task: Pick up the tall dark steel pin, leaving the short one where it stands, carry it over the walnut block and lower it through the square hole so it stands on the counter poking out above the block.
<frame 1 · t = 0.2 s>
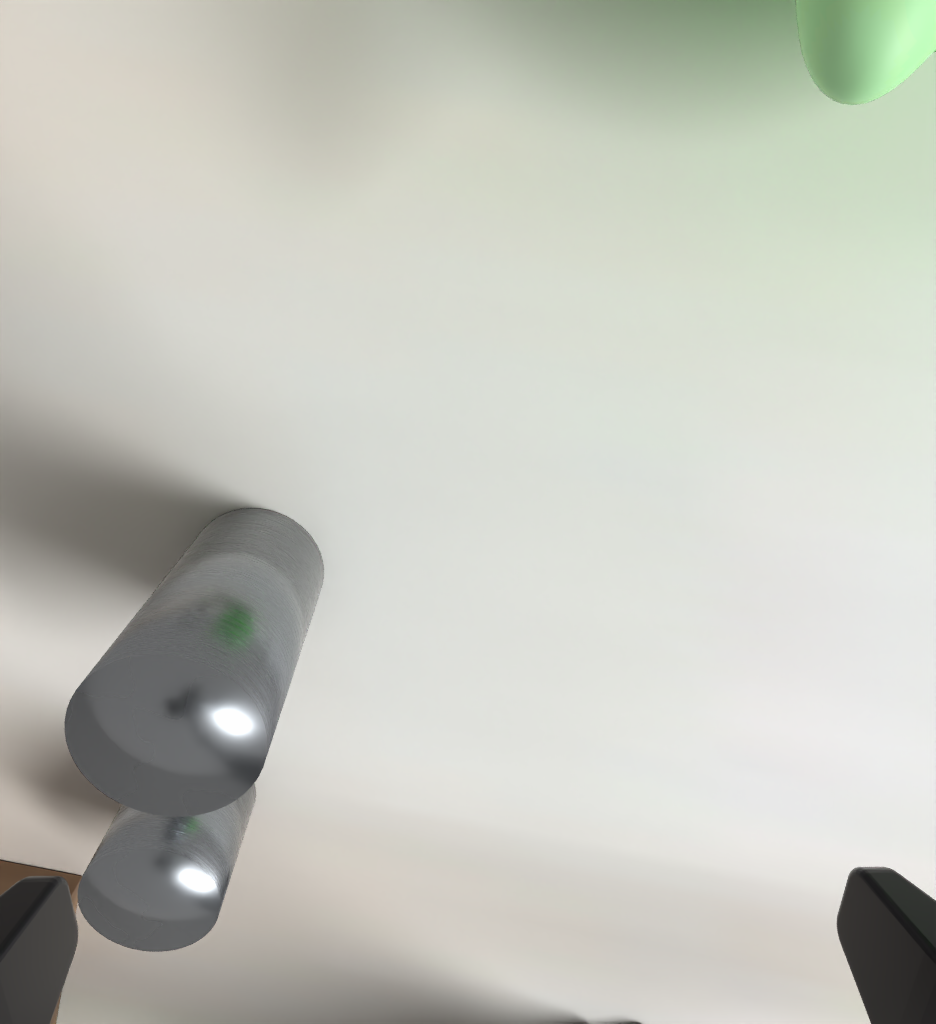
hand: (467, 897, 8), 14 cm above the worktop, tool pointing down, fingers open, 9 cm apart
short pin: (197, 790, 25), on the worktop
tall pin: (258, 569, 22), on the worktop
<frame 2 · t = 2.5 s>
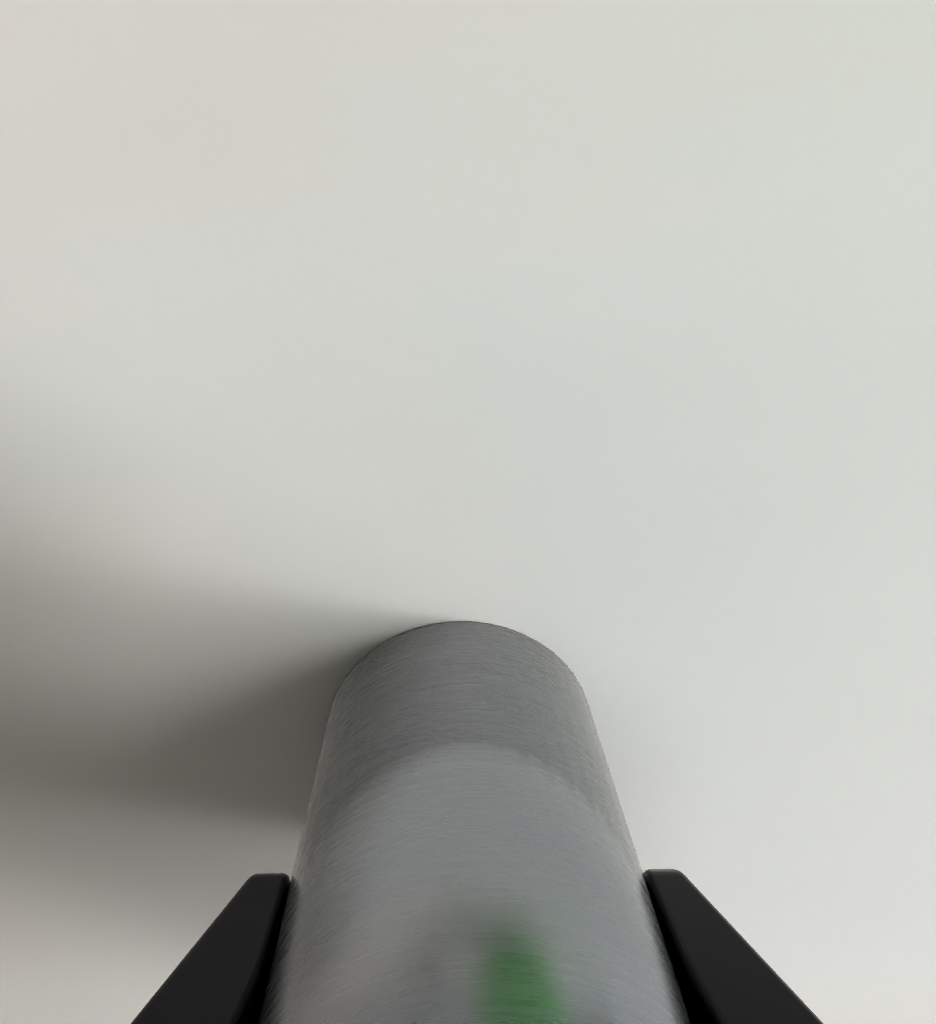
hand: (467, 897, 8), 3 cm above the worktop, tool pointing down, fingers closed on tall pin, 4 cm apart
tall pin: (460, 737, 11), on the worktop, touching gripper
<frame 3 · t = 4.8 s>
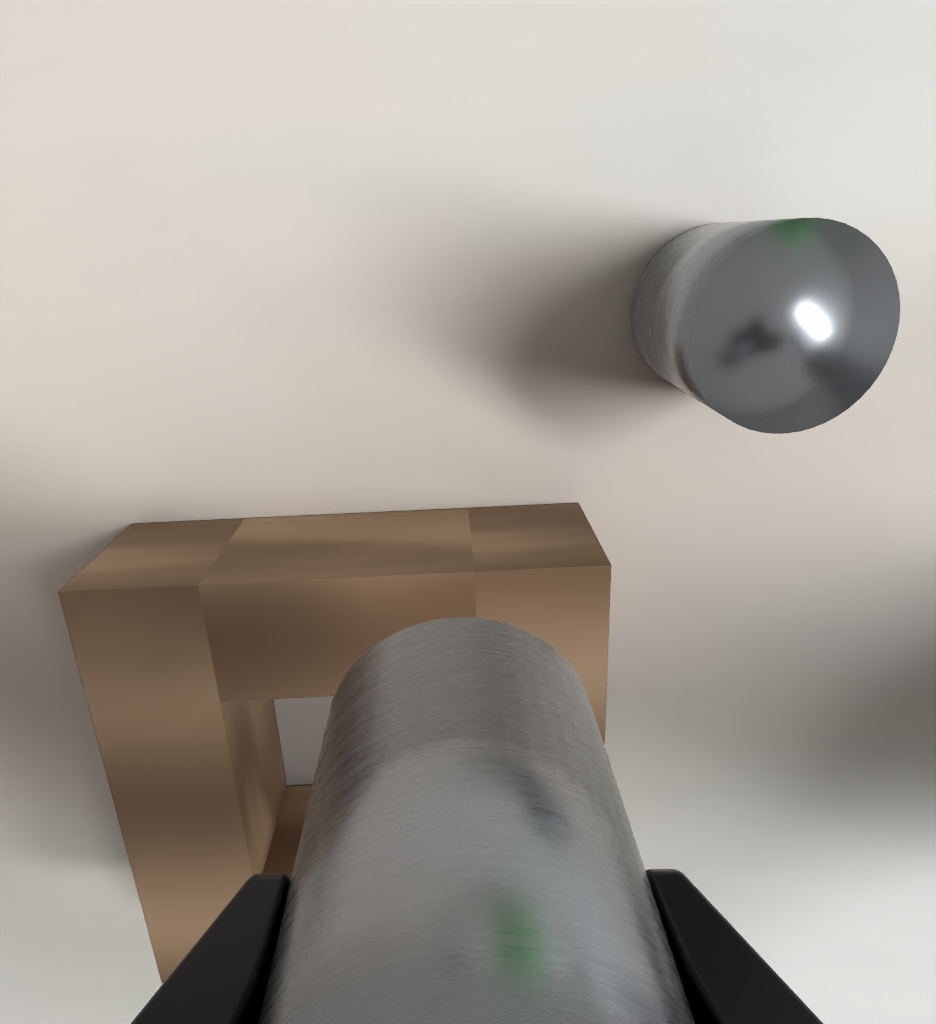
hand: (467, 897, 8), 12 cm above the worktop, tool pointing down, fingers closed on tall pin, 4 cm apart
hole block: (375, 700, 22), on the worktop
short pin: (711, 309, 18), on the worktop
tall pin: (461, 734, 11), point 9 cm above the worktop, touching gripper
when the fingers open (5 cm above the worktop, at t = 7.3 s): tall pin drops 2 cm, resting in hole block.
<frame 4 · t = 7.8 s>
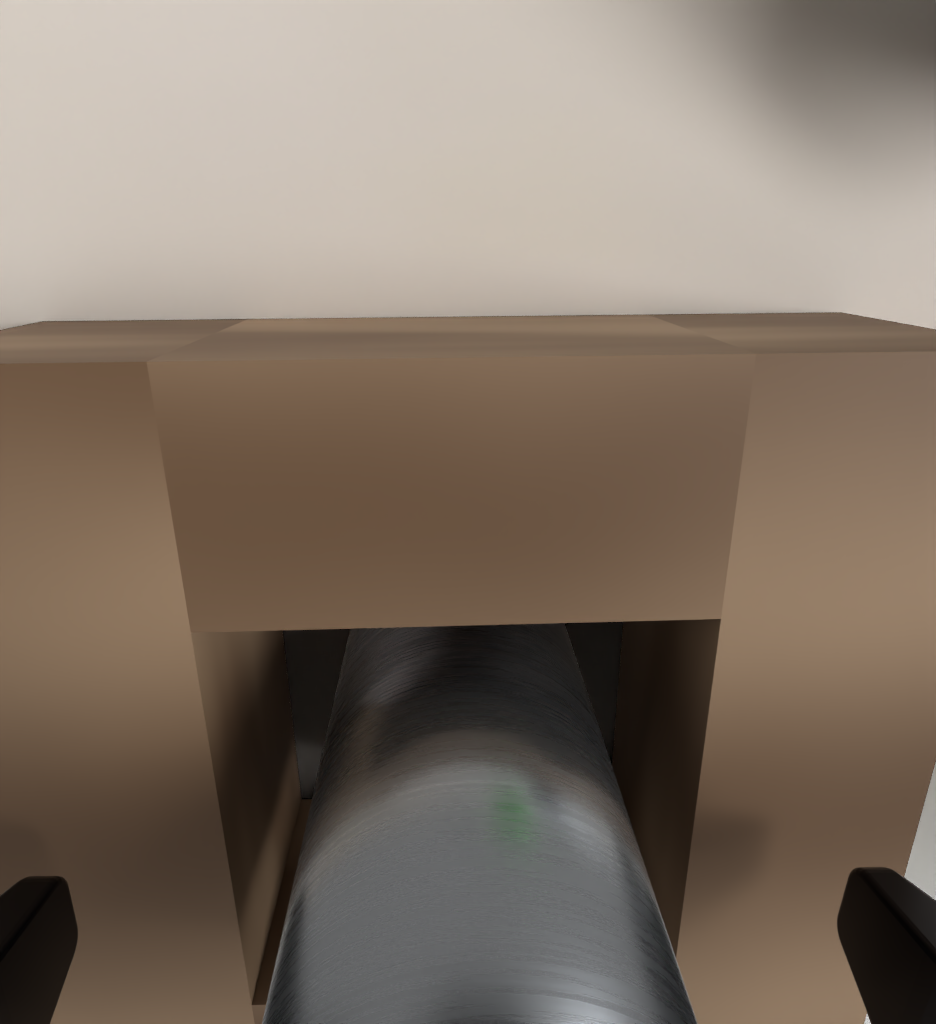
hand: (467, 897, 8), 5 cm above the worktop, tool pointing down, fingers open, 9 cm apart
hole block: (454, 661, 13), on the worktop
tall pin: (458, 657, 13), resting in hole block
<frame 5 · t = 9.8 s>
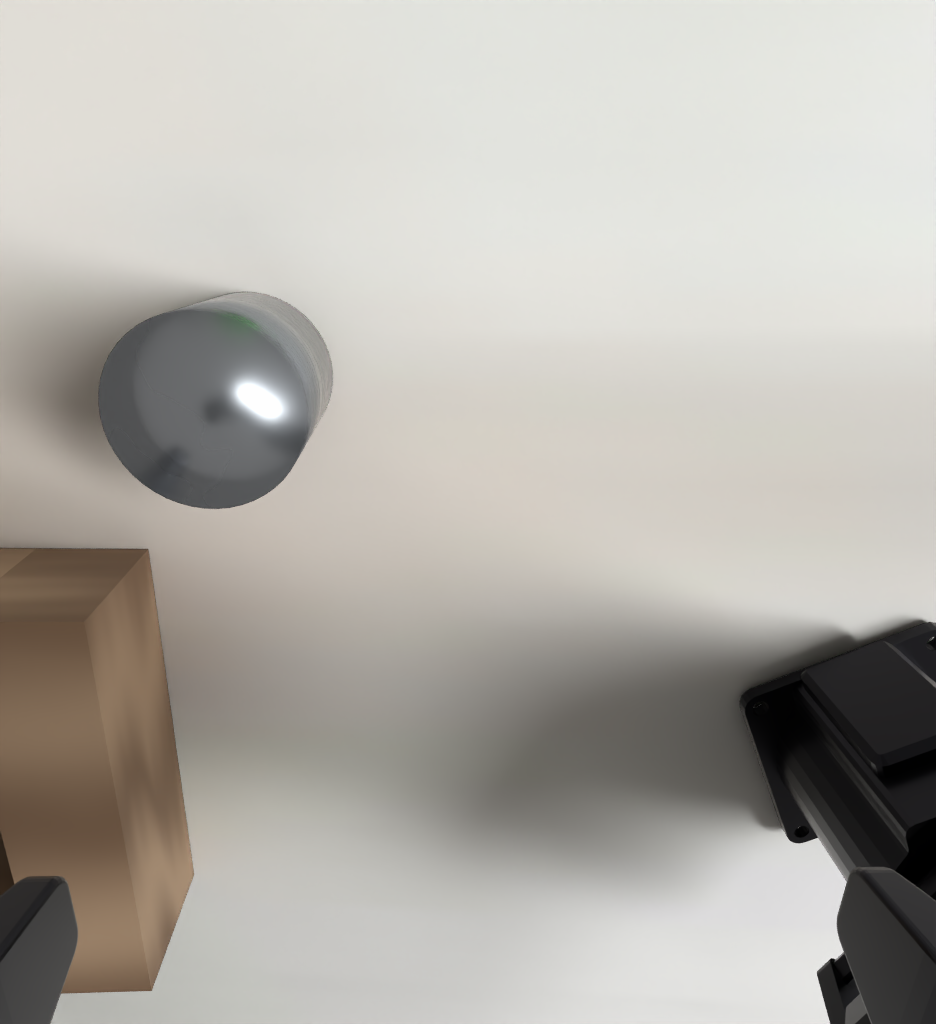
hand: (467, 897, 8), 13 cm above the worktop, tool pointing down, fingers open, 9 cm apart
short pin: (254, 373, 18), on the worktop
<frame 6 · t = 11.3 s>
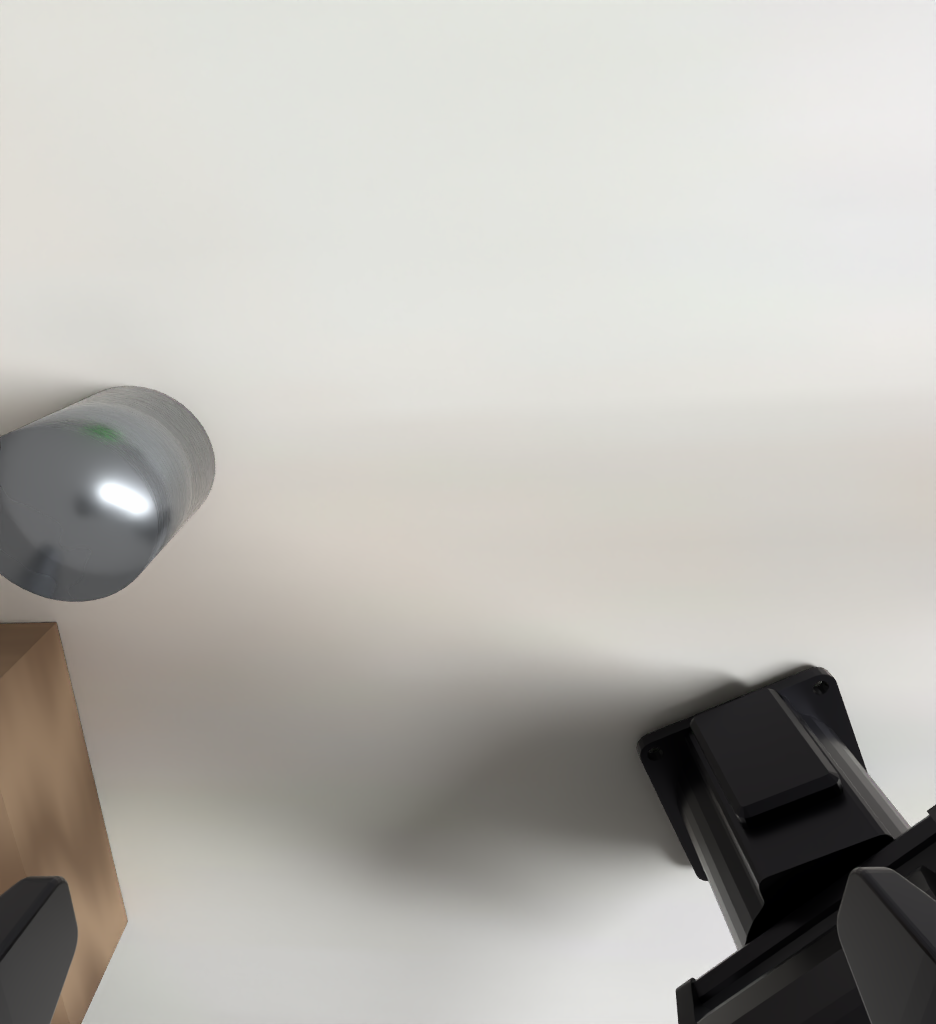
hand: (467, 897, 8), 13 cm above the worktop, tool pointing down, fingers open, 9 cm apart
short pin: (140, 458, 20), on the worktop
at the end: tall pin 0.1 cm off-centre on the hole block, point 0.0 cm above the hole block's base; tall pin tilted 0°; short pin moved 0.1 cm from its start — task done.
